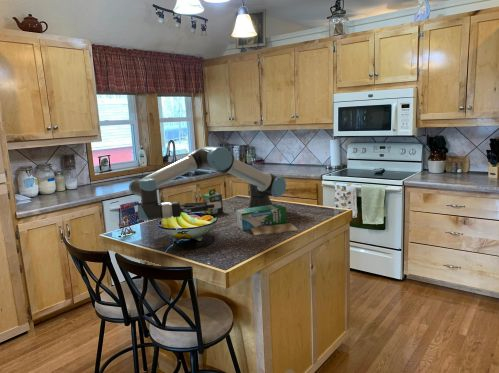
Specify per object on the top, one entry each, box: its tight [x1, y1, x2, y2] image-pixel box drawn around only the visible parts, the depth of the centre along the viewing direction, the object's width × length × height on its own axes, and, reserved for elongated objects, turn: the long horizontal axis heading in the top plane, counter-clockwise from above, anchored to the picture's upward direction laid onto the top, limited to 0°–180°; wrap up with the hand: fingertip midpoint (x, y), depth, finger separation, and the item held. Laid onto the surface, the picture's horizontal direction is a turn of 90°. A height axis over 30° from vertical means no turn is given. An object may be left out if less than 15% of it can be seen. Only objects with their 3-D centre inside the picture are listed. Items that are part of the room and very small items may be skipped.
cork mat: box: [250, 222, 299, 237], centre depth 199 cm, size 22×12×1 cm, turn 100°
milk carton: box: [235, 203, 288, 231], centre depth 208 cm, size 9×9×25 cm
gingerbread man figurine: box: [118, 212, 137, 235], centre depth 206 cm, size 9×4×12 cm, turn 143°
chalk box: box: [202, 188, 224, 216], centre depth 240 cm, size 9×9×15 cm
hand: (220, 204), depth 191 cm, fingers closed
